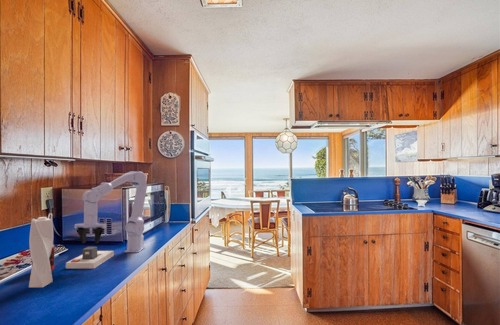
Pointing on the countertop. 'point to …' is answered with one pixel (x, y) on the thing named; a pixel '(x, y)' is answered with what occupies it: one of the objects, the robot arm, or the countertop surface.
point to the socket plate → (90, 260)
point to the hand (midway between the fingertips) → (90, 242)
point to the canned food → (51, 257)
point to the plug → (89, 253)
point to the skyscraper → (41, 251)
